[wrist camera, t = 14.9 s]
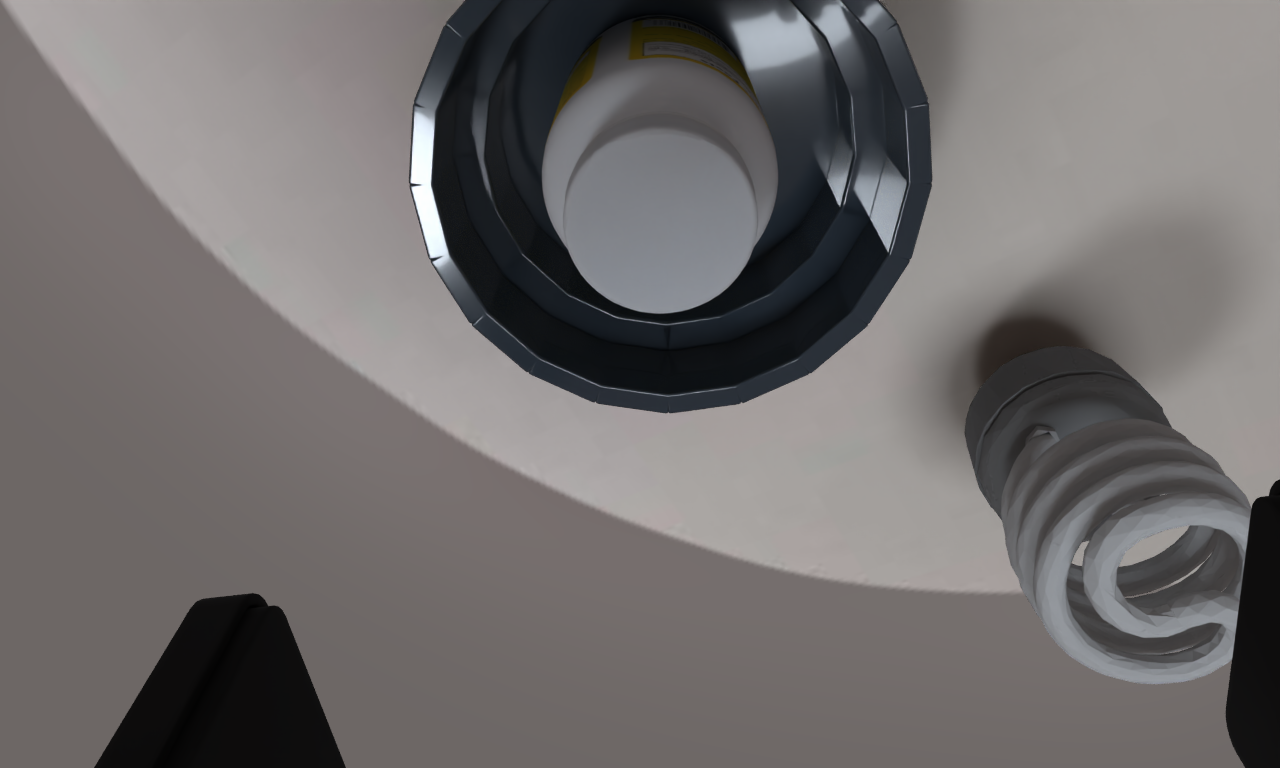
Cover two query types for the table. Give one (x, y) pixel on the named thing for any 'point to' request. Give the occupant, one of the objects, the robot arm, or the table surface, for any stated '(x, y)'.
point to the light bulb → (1109, 515)
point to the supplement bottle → (659, 165)
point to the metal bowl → (780, 261)
